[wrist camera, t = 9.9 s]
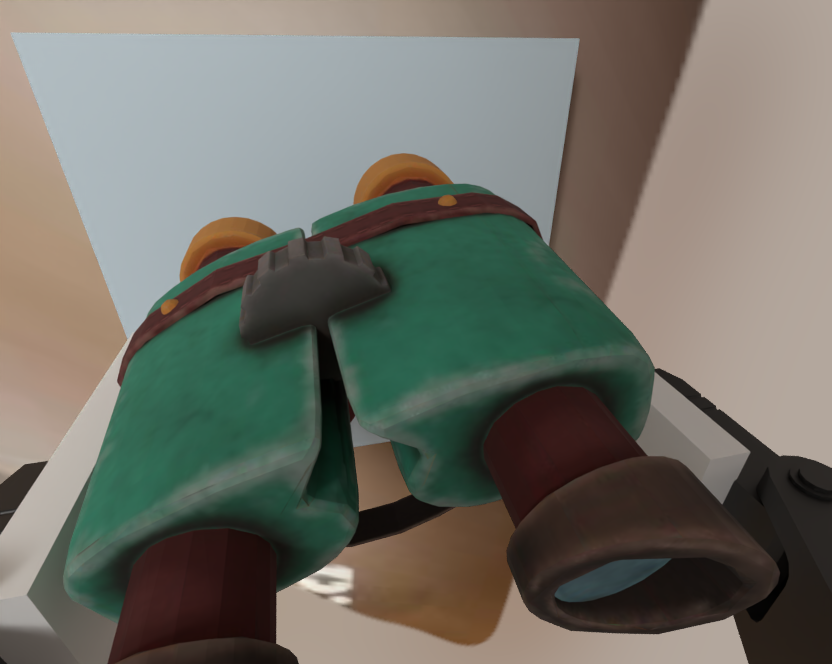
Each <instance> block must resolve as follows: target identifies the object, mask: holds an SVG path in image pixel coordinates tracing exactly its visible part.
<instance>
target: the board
mask: <svg viewBox="0 0 832 664" xmlns="http://www.w3.org/2000/svg"><path fill="white" fill-rule="evenodd" d="M11 35H12V38H13V41H14V43H15V46H16V48H17V51H18V54H19V56H20V59H21V62H22V64H23V67H24V69H25V72H26V75H27V77H28V80H29V82H30V85H31V88H32V90H33V93H34V96H35V98H36V101H37V103H38V106H39V109H40V111H41V114H42V116H43V119H44V122H45V124H46V127H47V130H48V132H49V135H50V137H51V140H52V143H53V145H54V148H55V150H56V153H57V156H58V158H59V161H60V164H61V166H62V169H63V171H64V174H65V177H66V179H67V182H68V184H69V187H70V190H71V192H72V195H73V197H74V200H75V203H76V205H77V208H78V211H79V213H80V216H81V218H82V221H83V224H84V226H85V229H86V231H87V234H88V237H89V239H90V242H91V245H92V247H93V250H94V252H95V255H96V258H97V260H98V263H99V265H100V268H101V271H102V273H103V276H104V279H105V281H106V284H107V286H108V289H109V292H110V294H111V297H112V299H113V302H114V305H115V307H116V310H117V313H118V315H119V318H120V320H121V323H122V326H123V328H124V331H125V333H126V336H127V339H129V337H130V335H131V334H132V333H134V332H135V331H136V330H137V329H138V328H139V326H140V325H141V324H142V323H143V322H144V320H145V319H146V317H147V314H148V312H149V310H150V309H151V308H152V306H153V305H154V303H155V302H156V301H157V300H159V299H160V298H161V297H162V296H163V295H164V294H166V293H167V292H168V291H169V290H170V289H172V288H173V287H174V286H176V285H177V284H179V283H180V276H179V275H180V268H181V263H182V261H183V259H184V256H185V254H186V252H187V250H188V247H189V245H190V243H191V241H192V239H193V237H194V236H195V235H196V234H197V233H198V232H199V231H200V229H201V228H203V227H204V226H206V225H207V224H209V223H210V222H213V221H216V220H218V219H221V218H228V217H242V218H249V219H252V220H255V221H258V222H261V223H262V224H264V225H266V226H268V227H269V228H271V229H272V230H273V231H275V232H276V233H277V234H279V233H282V232H284V231H287V230H290V229H294V228H298V227H299V228H301V229H303V230H304V233H305V239H306V238H308V237H311V236H312V233H311V228H312V223H314V222H315V221H317V220H318V219H320V218H322V217H325V216H327V215H330V214H332V213H335V212H337V211H339V210H342V209H344V208H347V207H349V206H352V205H353V202H354V195H355V191H356V188H357V185H358V183H359V181H360V179H361V178H362V176H363V174H364V173H365V172H366V171H367V170H368V169H369V168H370V166H372V165H373V164H374V163H376V162H377V161H379V160H380V159H382V158H385V157H387V156H390V155H393V154H401V153H407V154H415V155H418V156H421V157H423V158H426V159H428V160H429V161H431V162H432V163H433V164H435V165H436V166H437V167H438V168H439V169H441V170H442V171H443V172H444V173H445V174H446V175H447V176H448V177H449V178H450V180H451V181H452V182H453V183H454V184H471V185H477V186H481V187H483V188H486V189H488V190H490V191H491V192H493V193H494V194H495V195H498V196H499V197H501V198H503V199H505V200H507V201H509V202H511V203H512V204H514V205H516V206H518V207H519V208H521V209H522V210H523V211H524V212H526V213H527V214H528V215H529V216H531V217H532V218H533V219H534V220H535V221H536V222H537V225H538V227H539V230H540V233H541V235H542V238H543V241H544V242H545V243H546V244H547V245H548V246H549V241H550V235H551V228H552V221H553V214H554V208H555V201H556V194H557V188H558V181H559V174H560V167H561V161H562V154H563V147H564V141H565V134H566V127H567V121H568V114H569V107H570V100H571V94H572V87H573V80H574V74H575V67H576V60H577V53H578V47H579V40H580V38H489V37H391V36H293V35H195V34H97V33H11ZM351 432H352V441H353V447H358V446H365V445H371V444H377V443H383V442H389V441H390V440H388V439H385V438H381V437H379V436H377V435H375V434H372V433H370V432H368V431H366V430H365V429H364V428H363V427H361V426H360V425H359V423H358V421H357V418H356V416H355V417H354V419H353V420H352V422H351Z"/></svg>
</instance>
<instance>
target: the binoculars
mask: <svg viewBox="0 0 832 664" xmlns="http://www.w3.org/2000/svg"><path fill="white" fill-rule="evenodd" d="M311 233H312V236H311V237H308V238H306V239H305V233H304V230H303V229H301V228H299V227H298V228H294V229H290V230H287V231H284V232H282V233H279V234H277V233H276V232H275V231H273V230H272V229H271V228H269V227H268V226H266V225H264V224H262V223H261V222H258V221H255V220H252V219H249V218H242V217H228V218H221V219H218V220H216V221H213V222H210V223H209V224H207V225H206V226H204V227H203V228H201V229H200V231H199V232H198V233H197V234H196V235H195V236H194V237H193V239H192V241H191V243H190V245H189V247H188V250H187V252H186V254H185V256H184V259H183V261H182V263H181V268H180V275H179V276H180V283H179V284H177V285H176V286H174V287H173V288H172V289H170V290H169V291H168V292H167V293H166V294H164V295H163V296H162V297H161V298H160V299H159V300H157V301H156V302H155V303H154V305H153V306H152V308H151V309H150V310H149V312H148V314H147V317H146V319H145V320H144V322H143V323H142V324H141V325H140V326H139V328H138V329H137V330H136V331H135V332H134V334H133V336H132V338H131V341H130V343H129V345H128V347H127V349H126V352H125V354H124V356H123V358H122V362H121V366H120V370H119V374H118V379H117V383H118V384H119V386H120V387H121V388H120V391H119V394H118V397H117V400H116V403H115V406H114V410H113V413H112V416H111V419H110V422H109V425H108V428H107V431H106V434H105V437H104V440H103V443H102V446H101V449H100V452H99V455H98V458H97V462H96V465H95V468H94V471H93V474H92V477H91V480H90V483H89V486H88V489H87V492H86V495H85V498H84V501H83V504H82V507H81V510H80V514H79V517H78V520H77V523H76V526H75V529H74V532H73V535H72V538H71V541H70V544H69V549H68V554H67V560H66V565H65V570H64V575H63V585H64V589H65V591H66V592H67V594H68V595H69V597H70V599H71V600H73V601H75V602H77V603H79V604H81V605H83V606H84V607H86V608H88V609H90V610H92V611H94V612H96V613H98V614H100V615H102V616H103V617H105V618H107V619H109V620H111V621H113V622H115V623H117V624H118V625H117V629H116V633H115V637H114V640H113V644H112V648H111V652H110V656H109V659H108V663H107V664H299V663H298V660H297V657H296V656H295V655H294V654H293V653H292V652H291V651H290V650H288V649H286V648H284V647H282V646H280V645H278V644H276V593H277V592H279V591H281V590H283V589H285V588H287V587H289V586H291V585H293V584H294V583H296V582H298V581H300V580H302V579H304V578H306V577H308V576H309V575H311V574H313V573H315V572H317V571H319V570H321V569H322V568H323V567H324V566H326V565H327V564H328V563H330V562H331V561H332V560H333V559H335V558H336V557H337V556H338V555H339V554H340V553H341V551H342V550H343V549H344V548H345V547H353V546H356V545H360V544H364V543H367V542H371V541H375V540H378V539H382V538H386V537H389V536H393V535H397V534H400V533H403V532H405V531H407V530H409V529H412V528H414V527H416V526H418V525H421V524H423V523H425V522H427V521H430V520H432V519H434V518H436V517H438V516H441V515H442V514H444V513H446V512H448V511H450V510H451V509H453V508H455V507H470V506H476V505H482V504H487V503H490V502H494V501H497V500H501V499H503V501H504V504H505V506H506V508H507V510H508V512H509V515H510V517H511V519H512V521H513V523H514V526H515V528H516V530H515V532H514V533H513V535H512V536H511V538H510V541H509V544H508V547H507V562H508V564H509V567H510V569H511V572H512V574H513V577H514V580H515V582H516V585H517V587H518V589H519V592H520V594H521V597H522V600H523V602H524V603H525V605H526V607H527V608H528V610H529V611H530V612H531V613H533V614H534V615H536V616H537V617H539V618H540V619H542V620H545V621H547V622H549V623H552V624H554V625H557V626H560V627H562V628H565V629H568V630H570V631H584V632H602V633H628V634H661V633H665V632H670V631H674V630H679V629H684V628H688V627H692V626H697V625H702V624H706V623H710V622H715V621H720V620H724V619H726V618H728V617H730V616H732V615H734V614H736V613H738V612H740V611H742V610H744V609H746V608H748V607H750V606H752V605H754V604H756V603H758V602H760V601H761V600H763V599H765V598H766V597H767V596H768V595H769V594H770V592H771V591H772V590H773V589H774V588H775V586H776V585H777V584H778V580H779V575H780V571H779V569H778V567H777V565H776V562H775V561H774V560H773V559H772V558H771V557H770V556H769V554H768V553H767V552H766V551H765V550H764V549H763V548H762V547H761V546H760V545H759V544H758V543H757V541H756V540H755V539H754V538H753V537H752V536H751V535H750V534H749V533H748V532H747V531H746V530H745V529H744V527H743V526H742V525H741V524H740V523H739V522H738V521H737V520H736V519H735V518H734V517H733V516H732V515H731V513H730V512H729V511H728V510H727V509H726V508H725V507H724V506H723V505H722V504H721V503H720V502H719V500H718V499H717V498H716V497H715V496H714V495H713V494H712V493H711V492H710V491H709V490H708V489H707V488H706V486H705V485H704V484H703V483H702V482H701V481H700V480H699V479H698V478H697V477H696V476H695V475H694V473H693V472H692V471H691V470H690V469H689V468H688V467H687V466H686V465H684V464H683V463H681V462H680V461H679V460H676V459H673V458H669V457H665V456H648V455H647V454H646V453H645V452H644V451H643V449H642V448H641V447H640V446H639V445H638V444H637V442H636V440H637V439H638V438H639V437H640V435H641V433H642V431H643V429H644V427H645V424H646V420H647V417H648V414H649V411H650V406H651V399H652V392H653V385H654V375H655V368H654V366H653V363H652V362H651V359H650V357H649V356H648V354H647V353H646V351H645V350H644V349H643V347H642V346H641V345H640V343H639V342H638V340H637V339H636V337H635V336H634V335H633V333H632V332H631V331H630V330H629V329H628V328H627V327H626V326H625V325H624V324H623V323H622V322H621V321H620V320H619V319H618V318H617V317H616V316H615V314H614V313H613V312H611V310H610V309H609V308H608V307H607V306H606V305H605V304H604V303H603V302H602V301H601V300H600V299H599V298H598V297H597V296H596V295H595V294H594V293H593V292H592V291H591V290H590V289H589V287H588V286H587V285H586V284H585V283H584V282H583V281H582V280H581V279H580V278H579V277H578V276H577V275H576V274H575V273H574V272H573V271H572V270H571V269H570V268H569V267H568V266H567V265H566V264H565V263H564V262H563V260H562V259H561V258H560V257H559V256H558V255H557V254H556V253H555V252H554V251H553V250H552V249H551V248H550V247H549V246H548V245H547V244H546V243H545V242H544V241H543V238H542V235H541V233H540V230H539V227H538V225H537V222H536V221H535V220H534V219H533V218H532V217H531V216H529V215H528V214H527V213H526V212H524V211H523V210H522V209H521V208H519V207H518V206H516V205H514V204H512V203H511V202H509V201H507V200H505V199H503V198H501V197H499V196H498V195H495V194H494V193H493V192H491V191H490V190H488V189H486V188H483V187H481V186H477V185H471V184H454V183H453V182H452V181H451V180H450V178H449V177H448V176H447V175H446V174H445V173H444V172H443V171H442V170H441V169H439V168H438V167H437V166H436V165H435V164H433V163H432V162H431V161H429V160H428V159H426V158H423V157H421V156H418V155H415V154H407V153H401V154H393V155H390V156H387V157H385V158H382V159H380V160H379V161H377V162H376V163H374V164H373V165H372V166H370V168H369V169H368V170H367V171H366V172H365V173H364V174H363V176H362V178H361V179H360V181H359V183H358V185H357V188H356V191H355V195H354V202H353V205H352V206H349V207H347V208H344V209H342V210H339V211H337V212H335V213H332V214H330V215H327V216H325V217H322V218H320V219H318V220H317V221H315V222H314V223H312V228H311ZM355 416H356V418H357V421H358V423H359V425H360V426H361V427H363V428H364V429H365V430H366V431H368V432H370V433H372V434H375V435H377V436H379V437H381V438H385V439H388V440H390V441H391V444H392V447H393V451H394V454H395V457H396V460H397V463H398V466H399V469H400V471H401V473H402V476H403V478H404V480H405V482H406V485H407V487H408V489H409V491H410V492H411V494H412V495H409V496H407V497H405V498H403V499H400V500H398V501H396V502H394V503H390V504H386V505H383V506H379V507H375V508H371V509H367V510H364V511H360V512H359V492H358V483H357V475H356V466H355V458H354V449H353V441H352V432H351V422H352V420H353V419H354V417H355Z"/></svg>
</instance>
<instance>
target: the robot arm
mask: <svg viewBox="0 0 832 664" xmlns="http://www.w3.org/2000/svg"><path fill="white" fill-rule="evenodd" d="M133 334H134V333H132V334H131V335H130V337H129V339H128V340H127V342H126V343H125V345H124V346H123V348H122V349H121V351H120V352H119V354H118V355H117V357H116V358H115V360H114V362H113V363H112V365H111V366H110V368H109V369H108V371H107V372H106V374H105V375H104V377H103V378H102V380H101V381H100V383H99V384H98V386H97V388H96V389H95V391H94V392H93V394H92V395H91V397H90V398H89V400H88V401H87V403H86V404H85V406H84V407H83V409H82V411H81V412H80V414H79V415H78V417H77V418H76V420H75V421H74V423H73V424H72V426H71V427H70V429H69V430H68V432H67V434H66V435H65V437H64V438H63V440H62V441H61V443H60V444H59V446H58V447H57V449H56V450H55V452H54V453H53V455H52V457H51V458H50V460H49V461H45V462H38V463H32V464H25V465H23V466H22V467H21V468H20V469H19V470H17V471H16V472H15V473H14V474H13V475H11V476H10V477H9V478H8V479H6V480H5V481H4V482H3V483H2V484H0V664H107V663H108V659H109V656H110V652H111V648H112V644H113V640H114V637H115V633H116V629H117V625H118V624H117V623H115V622H113V621H111V620H109V619H107V618H105V617H103V616H102V615H100V614H98V613H96V612H94V611H92V610H90V609H88V608H86V607H84V606H83V605H81V604H79V603H77V602H75V601H73V600H71V599H70V597H69V595H68V594H67V592H66V591H65V589H64V585H63V575H64V570H65V565H66V560H67V554H68V549H69V544H70V541H71V538H72V535H73V532H74V529H75V526H76V523H77V520H78V517H79V514H80V510H81V507H82V504H83V501H84V498H85V495H86V492H87V489H88V486H89V483H90V480H91V477H92V474H93V471H94V468H95V465H96V462H97V458H98V455H99V452H100V449H101V446H102V443H103V440H104V437H105V434H106V431H107V428H108V425H109V422H110V419H111V416H112V413H113V410H114V406H115V403H116V400H117V397H118V394H119V391H120V388H121V387H120V386H119V384H118V383H117V379H118V374H119V370H120V366H121V362H122V358H123V356H124V354H125V352H126V349H127V347H128V345H129V343H130V341H131V338H132V336H133ZM636 442H637V444H638V445H639V446H640V447H641V448H642V449H643V451H644V452H645V453H646V454H647V455H648V456H665V457H669V458H673V459H676V460H679V461H680V462H681V463H683V464H684V465H686V466H687V467H688V468H689V469H690V470H691V471H692V472H693V473H694V475H695V476H696V477H697V478H698V479H699V480H700V481H701V482H702V483H703V484H704V485H705V486H706V488H707V489H708V490H709V491H710V492H711V493H712V494H713V495H714V496H715V497H716V498H717V499H718V500H719V502H720V503H721V504H722V505H723V506H724V507H725V508H726V509H727V510H728V511H729V512H730V513H731V515H732V516H733V517H734V518H735V519H736V520H737V521H738V522H739V523H740V524H741V525H742V526H743V527H744V529H745V530H746V531H747V532H748V533H749V534H750V535H751V536H752V537H753V538H754V539H755V540H756V541H757V543H758V544H759V545H760V546H761V547H762V548H763V549H764V550H765V551H766V552H767V553H768V554H769V556H770V557H771V558H772V559H773V560H774V561H775V562H776V565H777V567H778V569H779V571H780V575H779V580H778V584H777V585H776V586H775V588H774V589H773V590H772V591H771V592H770V594H769V595H768V596H767V597H766V598H765V599H763V600H761V601H760V602H758V603H756V604H754V605H752V606H750V607H748V608H746V609H744V610H742V611H740V612H738V613H736V614H734V615H733V616H734V619H735V622H736V625H737V629H738V632H739V635H740V638H741V641H742V644H743V647H744V650H745V653H746V657H747V660H748V663H749V664H832V468H830V467H828V466H826V465H824V464H822V463H819V462H817V461H814V460H810V459H807V458H803V457H799V456H778V455H777V454H775V453H774V452H773V451H772V450H771V449H769V448H768V447H767V446H766V445H764V444H763V443H762V442H760V441H759V440H758V439H756V438H755V437H754V436H753V435H751V434H750V433H749V432H748V431H747V430H745V429H744V428H743V427H741V426H740V425H739V424H738V423H737V422H735V421H734V420H733V419H731V418H730V417H729V416H728V415H726V414H725V413H724V412H722V411H721V410H720V409H719V410H717V409H716V406H715V405H714V404H713V403H711V402H710V401H709V400H708V399H706V398H705V397H701V394H700V393H699V392H697V391H696V390H695V389H693V388H692V387H691V386H690V385H689V384H687V383H686V382H685V381H683V380H682V379H680V378H678V377H676V376H674V375H672V374H670V373H667V372H666V371H664V370H661V369H655V375H654V385H653V392H652V399H651V406H650V411H649V414H648V417H647V420H646V424H645V427H644V429H643V431H642V433H641V435H640V437H639V438H638V439H637V440H636Z"/></svg>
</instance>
